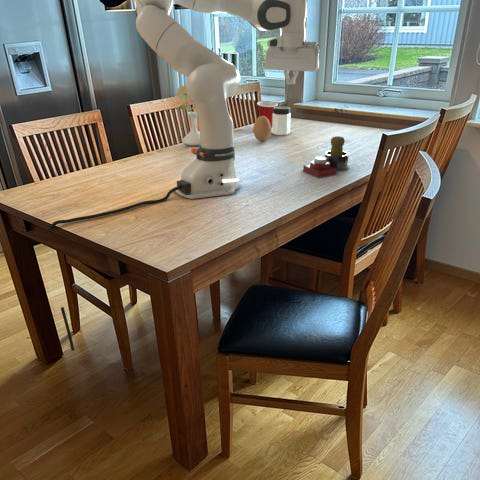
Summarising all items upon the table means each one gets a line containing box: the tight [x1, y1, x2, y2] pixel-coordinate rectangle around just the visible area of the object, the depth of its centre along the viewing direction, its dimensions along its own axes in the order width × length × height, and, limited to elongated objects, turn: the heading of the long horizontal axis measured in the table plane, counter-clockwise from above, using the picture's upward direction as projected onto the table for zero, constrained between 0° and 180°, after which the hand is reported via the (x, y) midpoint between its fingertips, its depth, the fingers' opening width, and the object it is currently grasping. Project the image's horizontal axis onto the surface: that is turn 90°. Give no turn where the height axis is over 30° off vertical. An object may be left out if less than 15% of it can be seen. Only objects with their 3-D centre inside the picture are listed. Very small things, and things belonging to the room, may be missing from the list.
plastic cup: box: [256, 100, 279, 129], centre depth 251 cm, size 11×11×12 cm
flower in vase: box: [175, 84, 201, 147], centre depth 217 cm, size 13×11×25 cm
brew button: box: [313, 156, 326, 164], centre depth 182 cm, size 4×4×2 cm
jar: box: [271, 105, 292, 136], centre depth 238 cm, size 9×8×12 cm
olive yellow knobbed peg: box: [330, 135, 345, 156], centre depth 186 cm, size 6×6×11 cm
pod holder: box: [324, 150, 350, 172], centre depth 188 cm, size 9×9×6 cm
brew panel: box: [302, 159, 337, 178], centre depth 183 cm, size 8×10×4 cm
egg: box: [253, 115, 272, 142], centre depth 225 cm, size 8×8×11 cm
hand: (290, 84), depth 179 cm, fingers closed
